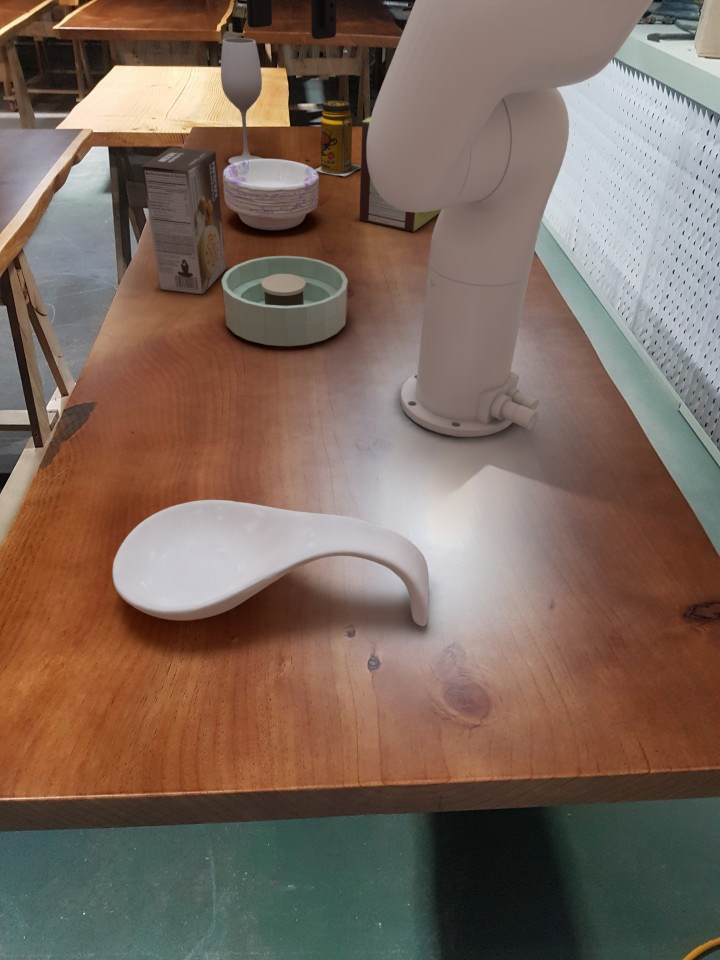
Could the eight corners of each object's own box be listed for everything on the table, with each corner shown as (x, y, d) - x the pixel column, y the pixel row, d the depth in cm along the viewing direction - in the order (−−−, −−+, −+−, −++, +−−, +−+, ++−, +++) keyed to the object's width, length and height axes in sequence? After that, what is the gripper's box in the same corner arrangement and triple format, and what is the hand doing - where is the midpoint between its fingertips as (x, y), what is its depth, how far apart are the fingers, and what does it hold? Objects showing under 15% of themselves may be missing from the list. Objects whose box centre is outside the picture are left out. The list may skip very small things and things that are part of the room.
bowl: (370, 320, 91) (372, 280, 88) (286, 364, 82) (285, 320, 79) (286, 285, 99) (284, 246, 95) (200, 321, 89) (195, 280, 86)
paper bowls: (331, 232, 115) (332, 181, 110) (239, 242, 110) (235, 189, 105) (302, 202, 126) (301, 154, 121) (216, 210, 121) (212, 160, 116)
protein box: (449, 206, 127) (460, 110, 117) (413, 233, 116) (422, 129, 106) (396, 195, 130) (402, 101, 121) (357, 220, 120) (360, 119, 110)
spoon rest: (97, 640, 51) (75, 570, 47) (147, 528, 60) (133, 461, 56) (427, 667, 50) (438, 599, 46) (427, 550, 59) (436, 483, 55)
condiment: (312, 171, 140) (311, 103, 133) (333, 161, 146) (333, 96, 139) (344, 177, 138) (346, 109, 130) (364, 167, 144) (367, 101, 136)
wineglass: (272, 160, 145) (268, 40, 131) (249, 169, 140) (241, 45, 126) (243, 154, 148) (236, 35, 134) (219, 162, 143) (209, 40, 129)
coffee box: (185, 264, 103) (170, 145, 93) (227, 269, 102) (217, 149, 92) (158, 290, 96) (140, 164, 86) (203, 295, 95) (190, 169, 85)
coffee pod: (314, 316, 90) (314, 282, 88) (284, 330, 87) (283, 296, 84) (284, 303, 93) (283, 270, 90) (254, 316, 90) (252, 282, 87)
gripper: (383, -179, 65) (373, 39, 76) (252, -176, 74) (261, 20, 84) (327, -187, 61) (326, 46, 71) (195, -183, 69) (212, 25, 80)
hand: (291, 31), depth 78 cm, fingers open, 9 cm apart
